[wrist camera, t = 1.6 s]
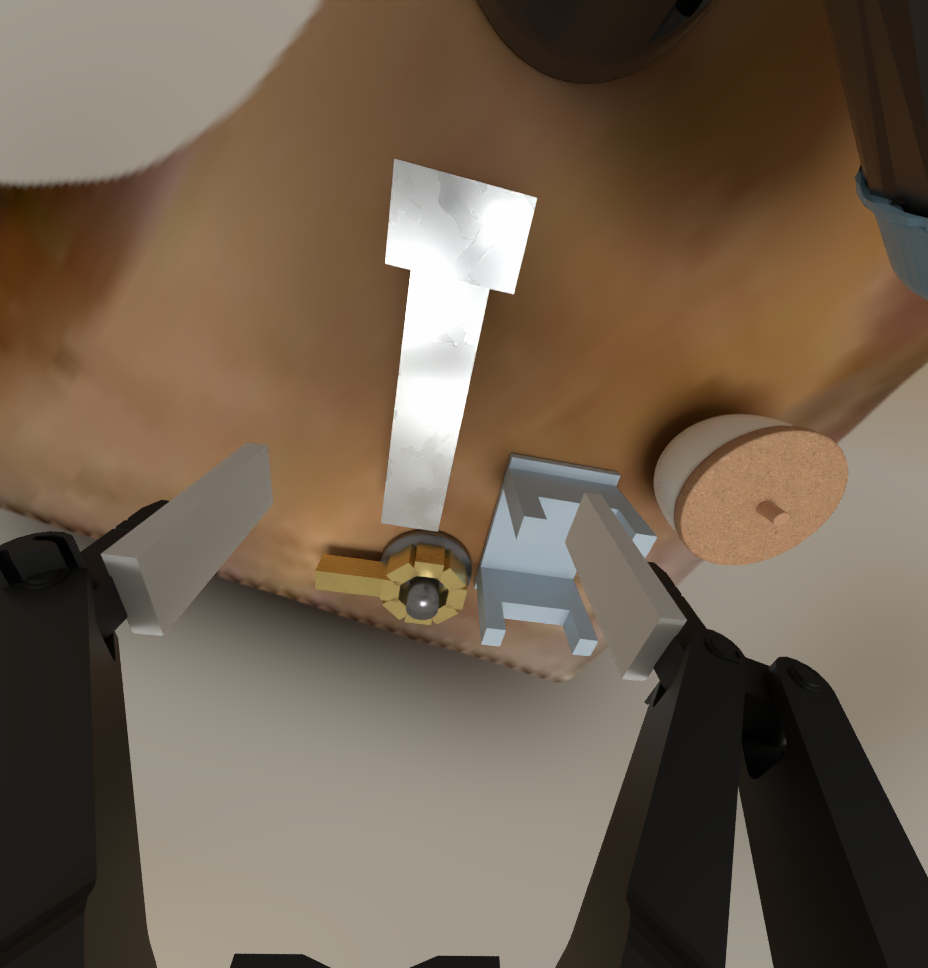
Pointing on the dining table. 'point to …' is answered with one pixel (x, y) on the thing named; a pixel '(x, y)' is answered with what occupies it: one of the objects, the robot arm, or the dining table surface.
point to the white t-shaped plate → (442, 320)
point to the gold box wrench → (398, 578)
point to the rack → (544, 548)
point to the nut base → (424, 588)
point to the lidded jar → (748, 486)
